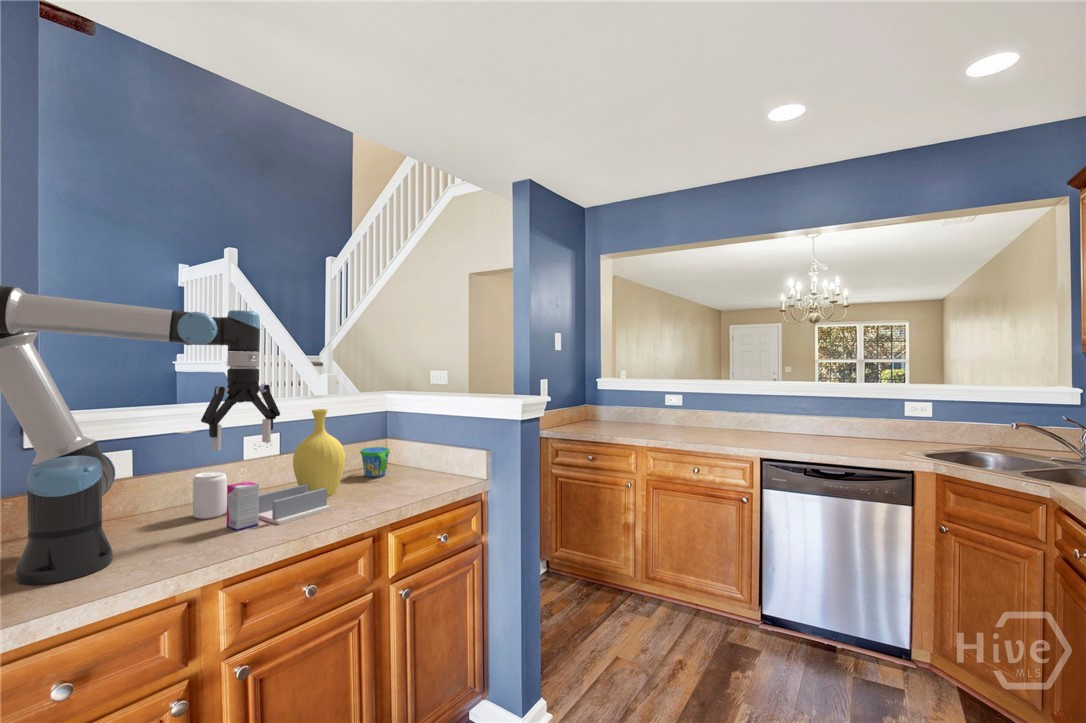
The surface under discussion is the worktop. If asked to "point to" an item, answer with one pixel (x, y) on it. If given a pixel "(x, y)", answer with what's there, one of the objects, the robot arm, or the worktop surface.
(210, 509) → the beverage can
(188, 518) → the worktop surface
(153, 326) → the robot arm
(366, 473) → the snack cup
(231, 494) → the supplement box
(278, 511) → the slot cradle
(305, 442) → the vase
